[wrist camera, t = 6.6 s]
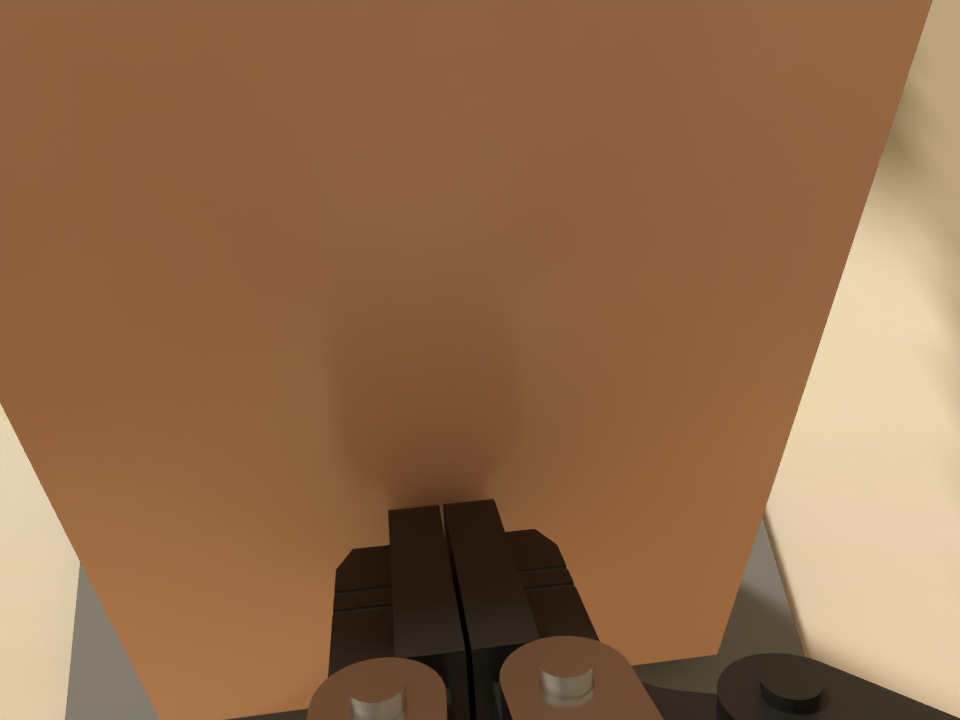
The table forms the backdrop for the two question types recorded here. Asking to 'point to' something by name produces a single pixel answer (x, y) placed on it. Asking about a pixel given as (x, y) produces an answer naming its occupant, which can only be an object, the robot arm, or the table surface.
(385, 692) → the robot arm
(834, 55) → the tile
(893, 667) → the table surface
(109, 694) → the mat
